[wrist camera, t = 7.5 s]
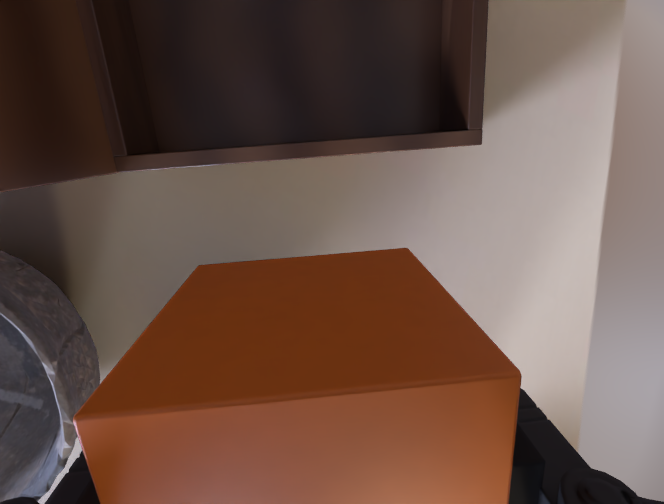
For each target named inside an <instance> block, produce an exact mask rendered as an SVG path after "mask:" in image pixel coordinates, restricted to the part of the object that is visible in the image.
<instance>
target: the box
mask: <svg viewBox="0 0 664 504" xmlns="http://www.w3.org/2000/svg"><path fill="white" fill-rule="evenodd" d="M488 1H489V0H76V4H77V8H78V13H79V17H80V21H81V25H82V29H83V33H84V38H85V42H86V46H87V50H88V54H89V58H90V62H91V67H92V71H93V75H94V79H95V83H96V87H97V92H98V96H99V100H100V104H101V108H102V112H103V116H104V121H105V125H106V129H107V133H108V137H109V141H110V146H111V150H112V154H113V158H114V162H115V166H116V170H117V173H118V172H131V171H144V170H157V169H170V168H183V167H196V166H210V165H223V164H236V163H249V162H262V161H275V160H288V159H301V158H314V157H327V156H340V155H353V154H367V153H380V152H393V151H406V150H419V149H432V148H445V147H458V146H471V145H481V144H482V123H483V103H484V82H485V62H486V41H487V21H488Z"/></svg>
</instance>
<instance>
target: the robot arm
mask: <svg viewBox="0 0 664 504" xmlns="http://www.w3.org/2000/svg"><path fill="white" fill-rule="evenodd" d="M0 504H39V503H38V502H37V501H36V500H35V499H34V498H31V497H22V496H21V497H17V498H13V499H8V500H5V501H3V502H0ZM45 504H100V501H99V498H98V495H97V492H96V489H95V486H94V483H93V480H92V477H91V474H90V471H89V468H88V465H87V462H86V459H85V456H84V453H83V450H82V452H81V453H80V457H79V458H77V459H76V460H75V462H74V463H73V464H72V466H71V467H70V469H69V473H66V474H65V476H64V477H63V479H62V480H61V481H60V483H59V484H58V486H57V487H56V488H55V490H54V491H53V493H52V494H51V495H50V497H49V498H48V500H47V501H46V502H45ZM509 504H664V502H661V501H655V500H649V499H646V498H642V497H638V496H637V495H636V493H635V492H634V491H632V490H631V489H630V488H629V487H627V486H626V485H625V484H624V483H623V482H621V481H620V480H618V479H616V478H614V477H612V476H611V475H609V474H607V473H605V472H601V471H598V470H594V469H591V468H590V467H589V466H588V465H587V463H586V462H585V461H584V460H583V459H582V457H581V456H580V455H579V454H578V453H577V452H576V450H575V449H574V448H573V447H572V446H571V445H570V443H569V442H568V441H567V440H566V439H565V438H564V436H563V435H562V434H561V433H560V432H559V431H558V429H557V428H556V427H555V426H554V425H553V424H552V422H551V421H550V420H547V417H546V415H545V414H544V413H543V412H542V411H541V410H540V409H539V408H537V406H536V404H535V403H534V402H533V400H532V399H531V398H530V397H529V396H528V395H527V393H526V392H525V391H524V390H523V389H521V388H520V396H519V406H518V416H517V425H516V435H515V445H514V455H513V465H512V474H511V484H510V494H509Z"/></svg>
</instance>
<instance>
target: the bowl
mask: <svg viewBox="0 0 664 504" xmlns="http://www.w3.org/2000/svg"><path fill="white" fill-rule="evenodd" d="M99 385H100V372H99V362H98V356H97V351H96V347H95V345H94V343H93V340H92V338H91V335H90V334H89V332H88V330H87V327H86V325H85V323H84V321H83V320H82V318H81V317H80V316H79V314H78V313H77V311H76V309H75V308H74V306H73V305H72V303H71V302H70V301H69V300H68V298H67V297H66V296H65V295H64V293H63V292H62V291H61V290H60V288H59V287H58V286H57V285H56V284H55V283H54V282H53V281H51V280H50V279H49V278H47V277H46V276H45V275H43V274H42V273H41V272H39V271H38V270H36V269H35V268H34V267H32V266H31V265H29V264H27V263H25V262H24V261H22V260H21V259H19V258H18V257H13V256H11V255H9V254H8V253H6V252H3V251H0V502H3V501H5V500H8V499H13V498H17V497H21V496H22V497H31V498H34V499H35V500H36V501H38V500H39V499H40V498H41V497H42V496H43V495H44V494H46V493H47V492H48V491H49V489H50V488H51V486H52V484H53V482H54V480H55V478H56V477H57V475H58V474H59V473H60V472H61V471H62V470H63V469H64V468H65V465H66V462H67V460H68V457H69V456H70V454H71V452H72V450H73V448H74V444H75V439H76V438H77V436H78V435H77V432H76V429H75V426H74V423H73V418H74V415H75V414H76V413H77V412H78V410H79V409H80V408H81V407H82V405H83V404H84V403H85V402H86V401H87V399H88V398H89V397H90V396H91V395H92V393H93V392H94V391H95V390H96V389H97V387H98V386H99Z"/></svg>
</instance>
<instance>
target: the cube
mask: <svg viewBox="0 0 664 504" xmlns="http://www.w3.org/2000/svg"><path fill="white" fill-rule="evenodd" d="M520 386H521V373H520V371H519V369H518V368H517V367H516V366H515V365H514V364H513V363H512V362H511V361H510V360H509V359H508V357H507V356H506V355H505V354H504V353H503V352H502V351H501V350H500V349H499V348H498V346H497V345H496V344H495V343H494V342H493V341H492V340H491V339H490V338H489V337H488V336H487V334H486V333H485V332H484V331H483V330H482V329H481V328H480V327H479V326H478V325H477V324H476V322H475V321H474V320H473V319H472V318H471V317H470V316H469V315H468V314H467V313H466V311H465V310H464V309H463V308H462V307H461V306H460V305H459V304H458V303H457V302H456V301H455V299H454V298H453V297H452V296H451V295H450V294H449V293H448V292H447V291H446V290H445V288H444V287H443V286H442V285H441V284H440V283H439V282H438V281H437V280H436V279H435V278H434V276H433V275H432V274H431V273H430V272H429V271H428V270H427V269H426V268H425V267H424V266H423V264H422V263H421V262H420V261H419V260H418V259H417V258H416V257H415V256H414V255H413V253H412V252H411V251H410V250H409V249H408V248H399V249H388V250H376V251H364V252H352V253H340V254H328V255H316V256H304V257H292V258H280V259H268V260H256V261H244V262H232V263H220V264H208V265H199V266H198V267H197V268H196V269H195V270H194V271H193V273H192V274H191V275H190V276H189V277H188V279H187V280H186V281H185V282H184V283H183V285H182V286H181V287H180V288H179V289H178V291H177V292H176V293H175V294H174V296H173V297H172V298H171V299H170V300H169V302H168V303H167V304H166V305H165V306H164V308H163V309H162V310H161V311H160V312H159V314H158V315H157V316H156V317H155V318H154V320H153V321H152V322H151V323H150V325H149V326H148V327H147V328H146V329H145V331H144V332H143V333H142V334H141V335H140V337H139V338H138V339H137V340H136V341H135V343H134V344H133V345H132V346H131V347H130V349H129V350H128V351H127V352H126V354H125V355H124V356H123V357H122V358H121V360H120V361H119V362H118V363H117V364H116V366H115V367H114V368H113V369H112V370H111V372H110V373H109V374H108V375H107V376H106V378H105V379H104V380H103V381H102V383H101V384H100V385H99V386H98V387H97V389H96V390H95V391H94V392H93V393H92V395H91V396H90V397H89V398H88V399H87V401H86V402H85V403H84V404H83V405H82V407H81V408H80V409H79V410H78V412H77V413H76V414H75V415H74V418H73V423H74V426H75V429H76V432H77V435H78V438H79V441H80V444H81V447H82V450H83V453H84V456H85V459H86V462H87V465H88V468H89V471H90V474H91V477H92V480H93V483H94V486H95V489H96V492H97V495H98V498H99V501H100V504H509V494H510V484H511V474H512V465H513V455H514V445H515V435H516V425H517V416H518V406H519V396H520Z"/></svg>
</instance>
